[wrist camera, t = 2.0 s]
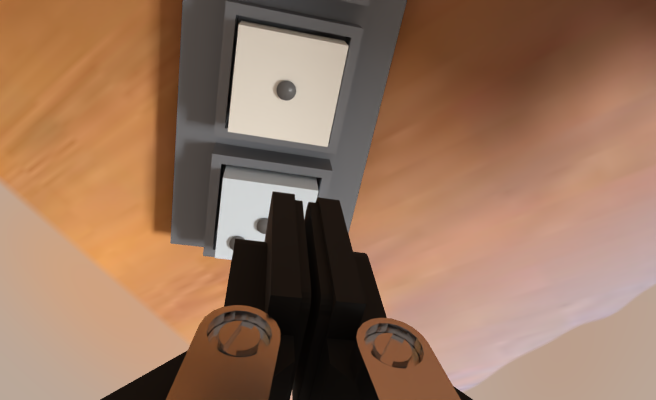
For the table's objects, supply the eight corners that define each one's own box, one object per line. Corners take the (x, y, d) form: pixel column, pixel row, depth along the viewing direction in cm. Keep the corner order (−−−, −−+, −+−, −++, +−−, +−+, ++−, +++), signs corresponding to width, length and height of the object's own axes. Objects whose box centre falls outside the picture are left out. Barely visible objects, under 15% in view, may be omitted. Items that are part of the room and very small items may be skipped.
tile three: (316, 177, 31) (318, 192, 29) (301, 251, 33) (302, 268, 31) (226, 165, 30) (222, 179, 28) (218, 241, 32) (214, 259, 30)
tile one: (344, 40, 27) (349, 46, 25) (324, 135, 29) (327, 148, 27) (241, 20, 26) (238, 24, 24) (230, 121, 28) (227, 132, 26)
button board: (437, -150, 25) (459, -165, 22) (338, 251, 37) (344, 277, 34) (199, -217, 23) (186, -245, 20) (174, 232, 35) (164, 258, 32)
